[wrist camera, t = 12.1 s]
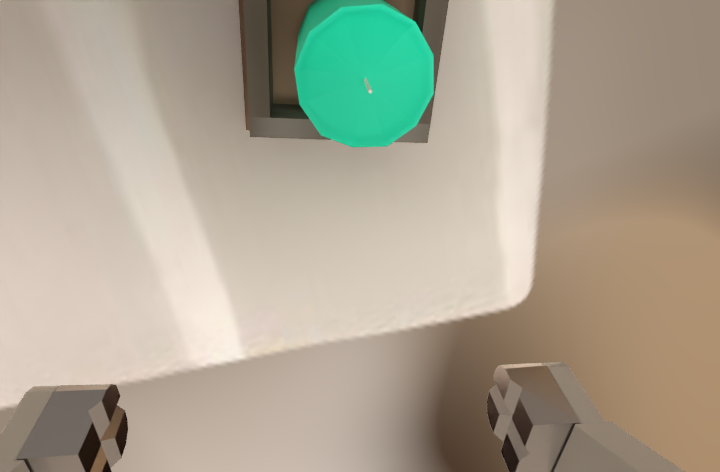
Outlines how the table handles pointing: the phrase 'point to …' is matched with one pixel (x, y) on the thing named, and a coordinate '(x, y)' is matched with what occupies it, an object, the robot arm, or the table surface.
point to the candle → (362, 71)
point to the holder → (277, 60)
